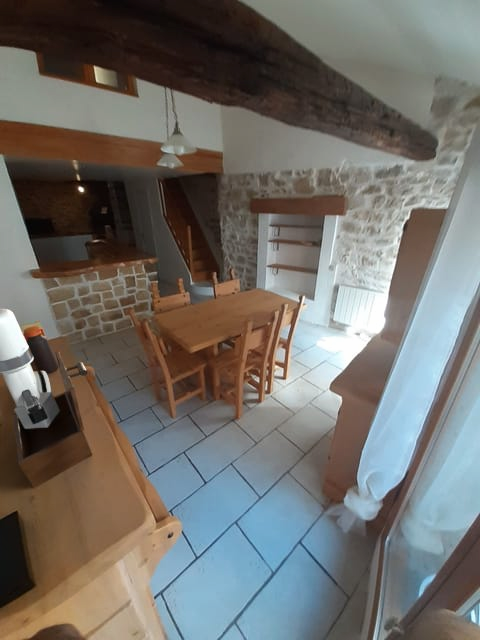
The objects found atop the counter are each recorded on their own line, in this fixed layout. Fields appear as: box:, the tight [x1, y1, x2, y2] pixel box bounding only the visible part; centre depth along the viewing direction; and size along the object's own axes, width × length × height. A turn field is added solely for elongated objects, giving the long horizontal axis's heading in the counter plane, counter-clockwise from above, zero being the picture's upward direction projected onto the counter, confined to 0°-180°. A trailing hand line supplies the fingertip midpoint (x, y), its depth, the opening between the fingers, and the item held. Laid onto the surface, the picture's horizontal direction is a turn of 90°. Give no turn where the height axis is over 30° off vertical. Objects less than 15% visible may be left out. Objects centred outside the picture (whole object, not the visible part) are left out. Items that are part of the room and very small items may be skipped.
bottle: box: [24, 326, 59, 375], centre depth 102 cm, size 7×7×20 cm
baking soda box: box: [20, 320, 47, 341], centre depth 112 cm, size 10×6×16 cm
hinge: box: [33, 371, 52, 393], centre depth 91 cm, size 17×5×10 cm, turn 43°
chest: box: [12, 391, 93, 489], centre depth 73 cm, size 14×21×10 cm, turn 42°
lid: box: [54, 350, 88, 431], centre depth 73 cm, size 15×21×5 cm
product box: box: [14, 391, 60, 429], centre depth 69 cm, size 6×6×7 cm
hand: (38, 410), depth 69 cm, fingers closed on product box, 8 cm apart
